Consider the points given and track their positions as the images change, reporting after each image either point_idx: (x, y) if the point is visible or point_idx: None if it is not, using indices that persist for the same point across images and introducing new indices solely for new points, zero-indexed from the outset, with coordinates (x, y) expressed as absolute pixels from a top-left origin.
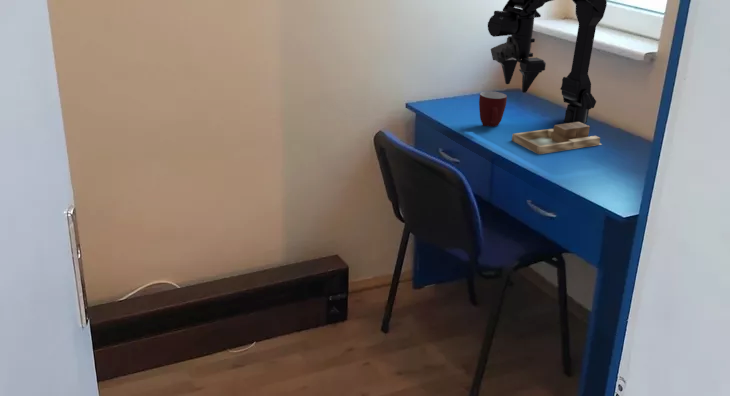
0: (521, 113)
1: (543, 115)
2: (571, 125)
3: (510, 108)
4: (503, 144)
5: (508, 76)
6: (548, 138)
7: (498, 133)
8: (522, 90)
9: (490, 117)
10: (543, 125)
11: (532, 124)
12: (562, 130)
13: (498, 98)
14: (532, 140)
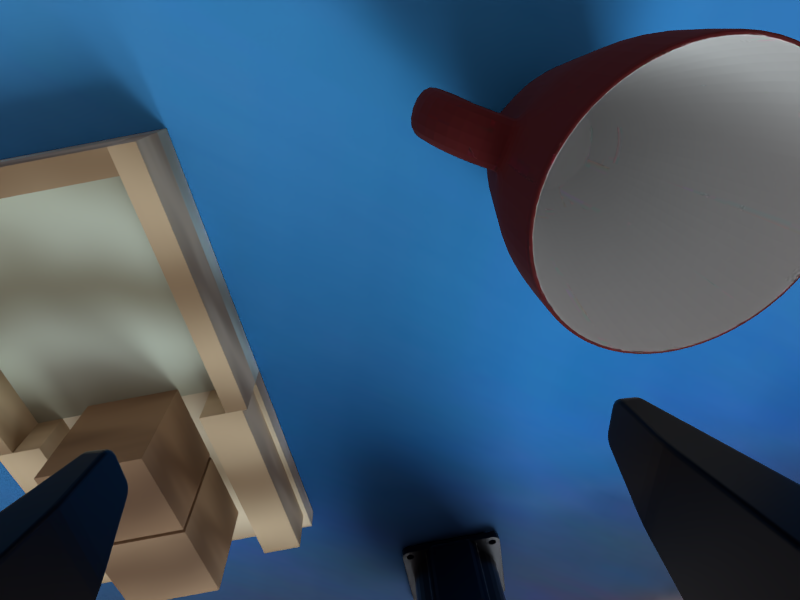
0: None
1: (613, 502)
2: (144, 538)
3: (781, 411)
4: (152, 57)
5: (693, 526)
6: (205, 381)
7: (402, 141)
8: (74, 467)
9: (507, 112)
10: (478, 450)
11: (508, 410)
12: (62, 465)
13: (695, 291)
14: (162, 278)
